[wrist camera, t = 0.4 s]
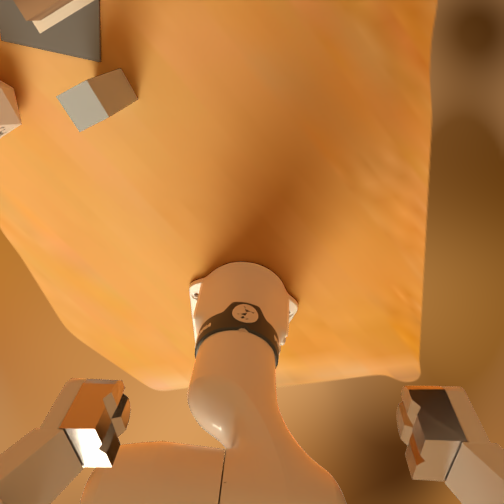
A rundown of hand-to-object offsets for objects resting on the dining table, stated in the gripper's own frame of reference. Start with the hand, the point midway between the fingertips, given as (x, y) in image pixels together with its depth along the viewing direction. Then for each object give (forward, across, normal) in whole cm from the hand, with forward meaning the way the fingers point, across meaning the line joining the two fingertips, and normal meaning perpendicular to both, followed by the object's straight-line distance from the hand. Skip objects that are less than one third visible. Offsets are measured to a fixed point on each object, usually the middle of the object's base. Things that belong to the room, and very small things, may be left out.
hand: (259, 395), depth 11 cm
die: (+44, -37, +1) cm, 57 cm away
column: (+44, -20, +2) cm, 48 cm away
